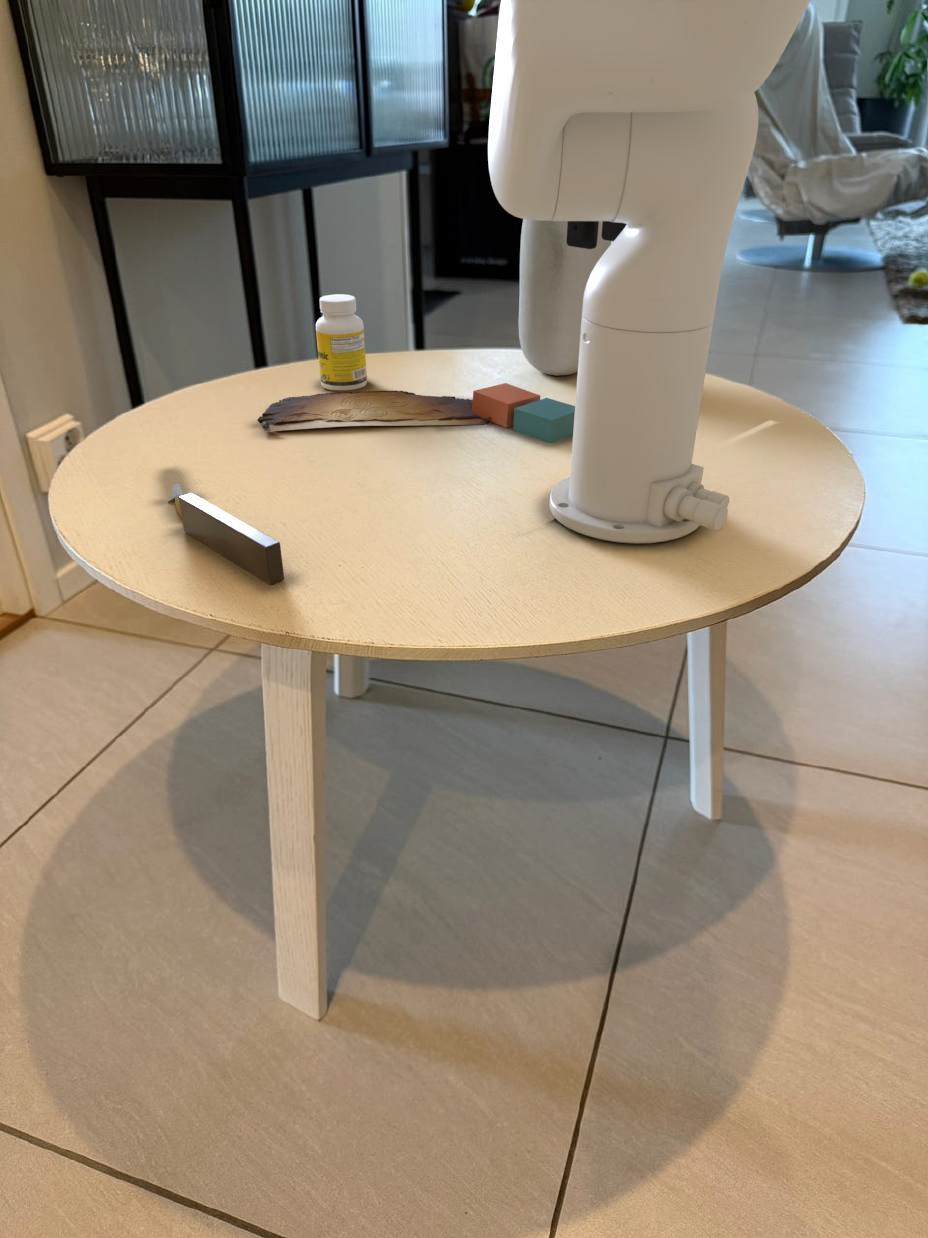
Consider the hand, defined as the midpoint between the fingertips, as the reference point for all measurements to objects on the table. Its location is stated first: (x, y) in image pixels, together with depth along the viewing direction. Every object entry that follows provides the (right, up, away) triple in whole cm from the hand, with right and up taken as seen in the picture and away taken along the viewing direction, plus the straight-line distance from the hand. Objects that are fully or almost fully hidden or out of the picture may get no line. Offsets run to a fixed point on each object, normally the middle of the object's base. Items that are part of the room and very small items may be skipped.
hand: (599, 241), depth 83 cm
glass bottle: (-1, -6, +24) cm, 24 cm away
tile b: (-9, -15, +9) cm, 19 cm away
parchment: (-22, -14, +10) cm, 28 cm away
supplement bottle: (-27, -9, +19) cm, 34 cm away
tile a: (-4, -17, +6) cm, 18 cm away
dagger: (-37, -26, -8) cm, 46 cm away
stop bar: (-30, -31, -18) cm, 47 cm away
